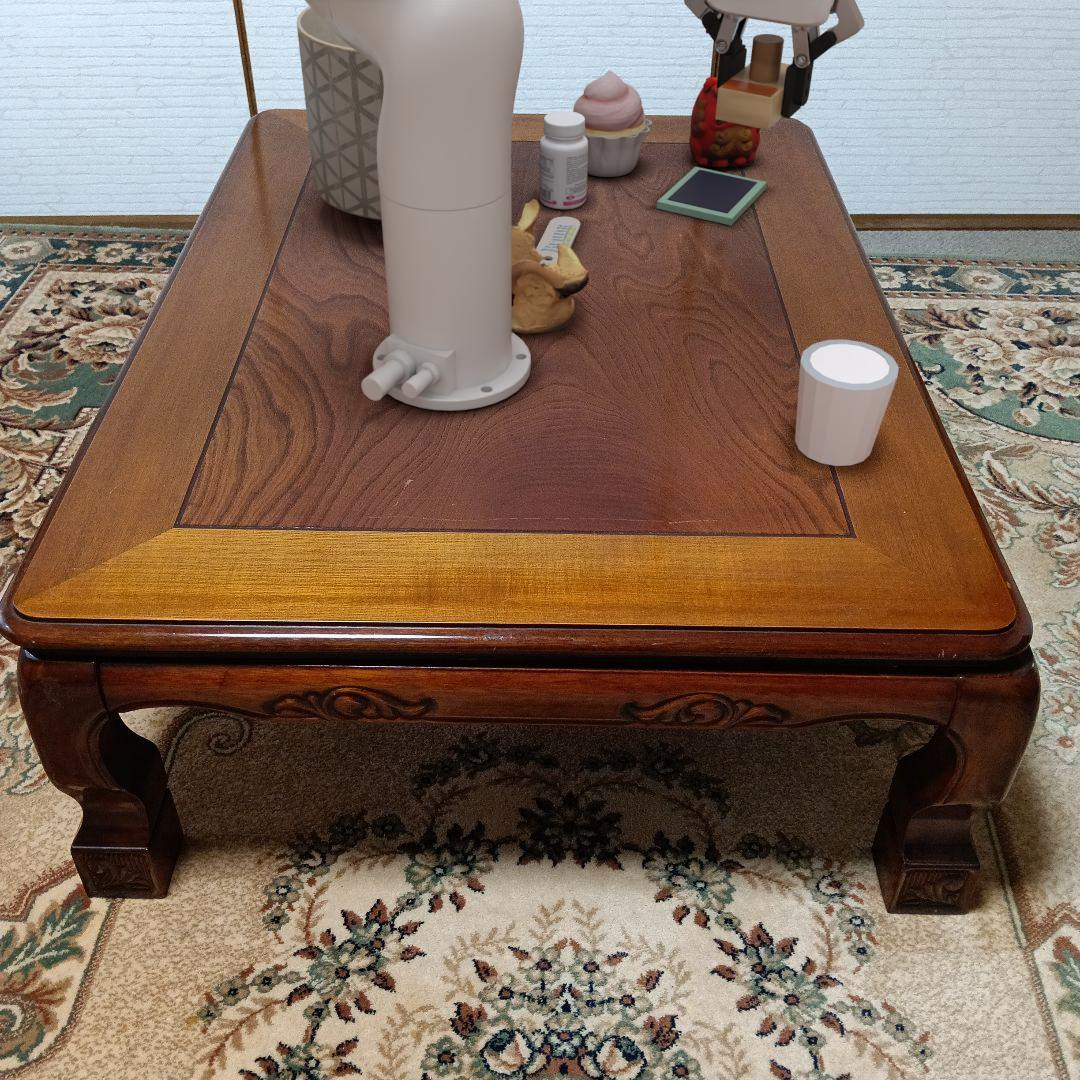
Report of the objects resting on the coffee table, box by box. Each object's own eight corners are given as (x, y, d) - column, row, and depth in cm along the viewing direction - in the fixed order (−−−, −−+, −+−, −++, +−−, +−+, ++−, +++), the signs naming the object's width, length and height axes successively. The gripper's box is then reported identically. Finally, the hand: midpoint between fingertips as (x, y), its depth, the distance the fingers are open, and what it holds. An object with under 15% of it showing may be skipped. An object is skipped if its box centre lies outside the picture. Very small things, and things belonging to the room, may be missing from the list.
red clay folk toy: (700, 175, 127) (715, 27, 118) (675, 150, 132) (688, 6, 123) (766, 168, 129) (786, 21, 119) (739, 143, 134) (757, 1, 124)
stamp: (752, 88, 101) (760, 19, 98) (803, 98, 99) (813, 29, 96) (714, 119, 96) (721, 48, 92) (768, 130, 94) (777, 58, 90)
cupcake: (643, 148, 132) (650, 55, 126) (654, 183, 125) (662, 86, 119) (558, 149, 132) (561, 55, 126) (565, 184, 125) (568, 87, 118)
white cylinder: (811, 477, 86) (828, 395, 82) (771, 425, 91) (784, 344, 87) (897, 462, 88) (917, 381, 83) (852, 411, 93) (870, 332, 88)
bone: (443, 321, 103) (439, 229, 97) (495, 273, 110) (494, 185, 104) (571, 354, 99) (575, 260, 94) (617, 302, 106) (623, 212, 100)
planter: (422, 271, 110) (411, 68, 98) (276, 214, 118) (251, 21, 107) (547, 202, 121) (551, 13, 110) (406, 155, 130) (396, -25, 118)
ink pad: (731, 226, 118) (732, 217, 117) (656, 208, 121) (656, 200, 120) (766, 189, 125) (767, 180, 124) (694, 173, 127) (695, 165, 127)
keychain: (561, 263, 110) (528, 260, 110) (560, 269, 110) (528, 266, 110) (583, 215, 117) (553, 212, 118) (583, 221, 118) (553, 217, 118)
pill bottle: (587, 192, 123) (591, 110, 118) (584, 212, 120) (587, 128, 114) (541, 189, 124) (542, 107, 118) (536, 209, 120) (537, 125, 115)
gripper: (924, -146, 85) (876, 111, 97) (703, -170, 91) (684, 74, 103) (892, -126, 80) (846, 142, 92) (661, -153, 86) (645, 101, 98)
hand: (760, 103), depth 97 cm, fingers closed on stamp, 4 cm apart
